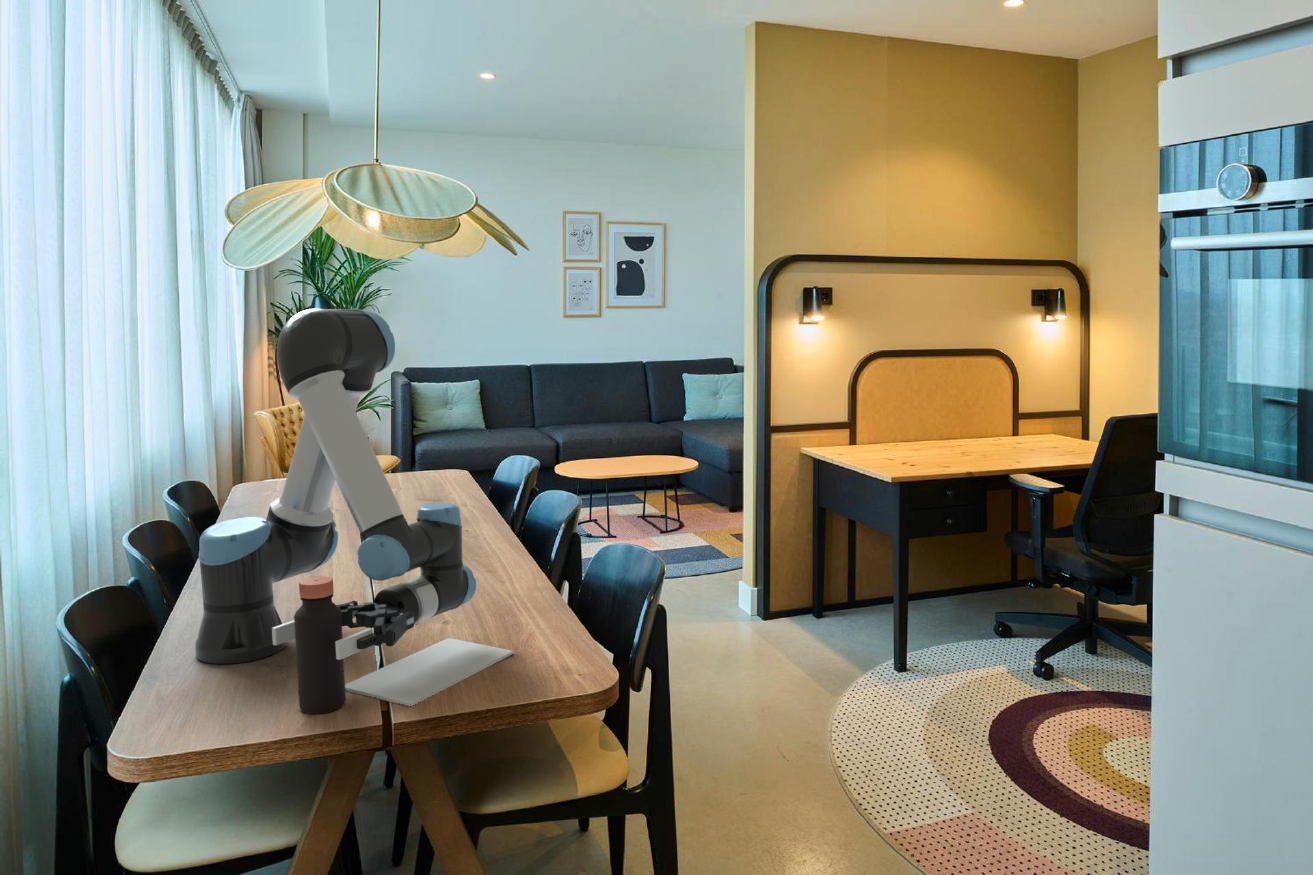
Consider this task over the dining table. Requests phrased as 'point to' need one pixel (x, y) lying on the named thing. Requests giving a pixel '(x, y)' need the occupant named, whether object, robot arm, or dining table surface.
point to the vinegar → (318, 648)
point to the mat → (427, 671)
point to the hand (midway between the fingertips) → (304, 643)
